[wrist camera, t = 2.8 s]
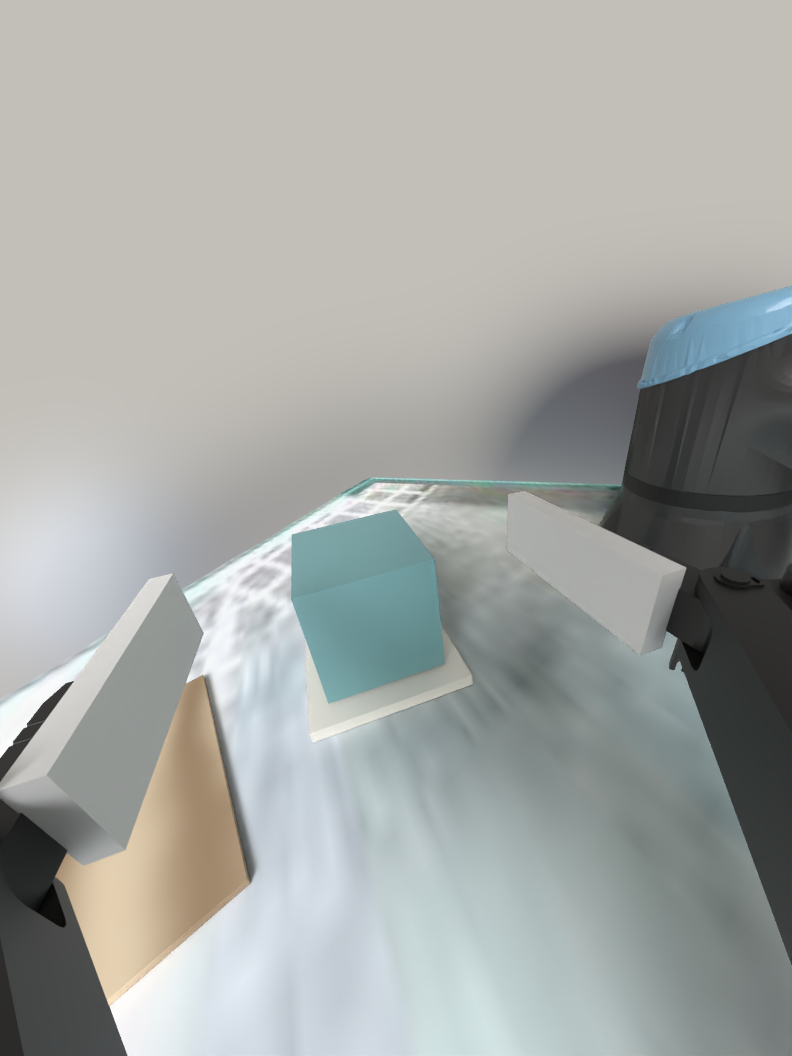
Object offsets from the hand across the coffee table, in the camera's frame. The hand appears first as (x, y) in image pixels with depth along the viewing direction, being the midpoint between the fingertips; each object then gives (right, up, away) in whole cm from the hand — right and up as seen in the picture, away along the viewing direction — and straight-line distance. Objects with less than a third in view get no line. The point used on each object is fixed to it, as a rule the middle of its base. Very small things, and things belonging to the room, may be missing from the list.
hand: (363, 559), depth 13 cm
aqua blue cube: (0, -8, +15) cm, 17 cm away
